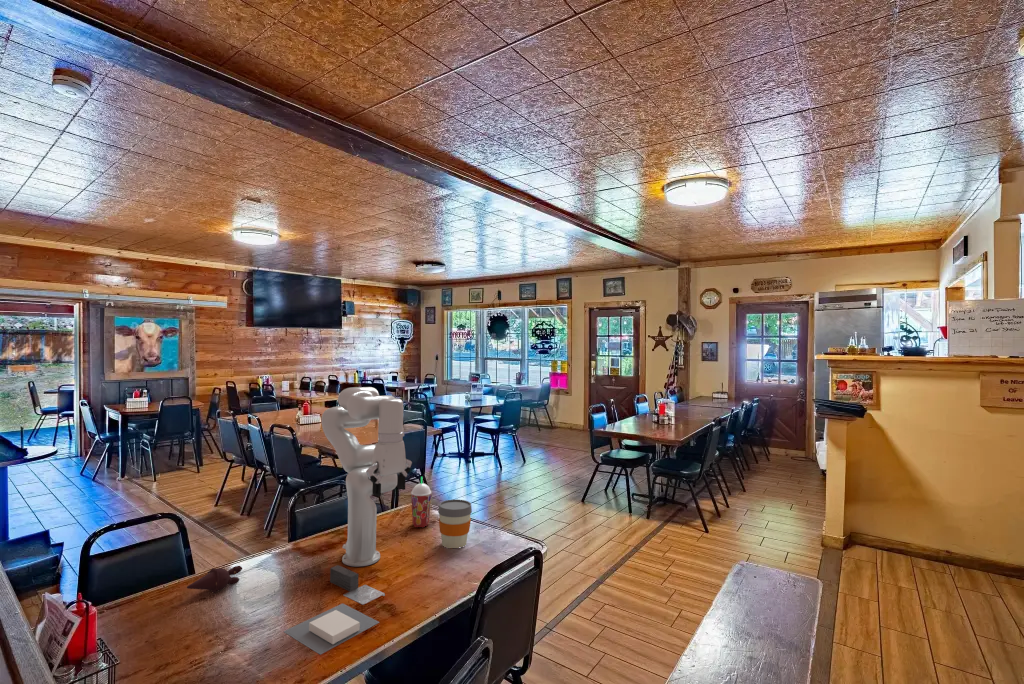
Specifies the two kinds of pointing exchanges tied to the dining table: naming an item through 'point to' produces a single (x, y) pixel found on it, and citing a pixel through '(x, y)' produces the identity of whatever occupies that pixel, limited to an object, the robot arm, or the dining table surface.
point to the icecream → (216, 579)
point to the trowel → (353, 585)
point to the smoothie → (421, 504)
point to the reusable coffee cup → (454, 522)
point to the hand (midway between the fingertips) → (389, 492)
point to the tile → (334, 626)
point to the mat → (318, 643)
